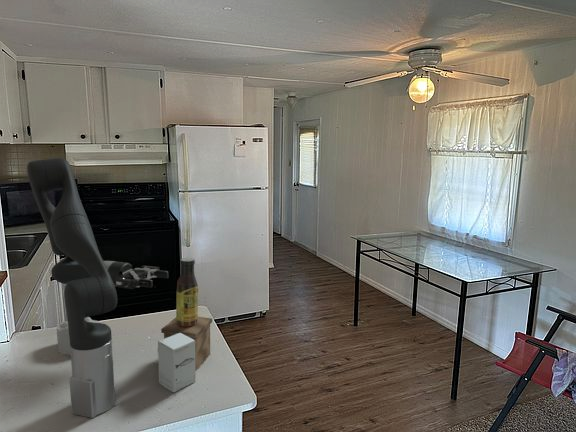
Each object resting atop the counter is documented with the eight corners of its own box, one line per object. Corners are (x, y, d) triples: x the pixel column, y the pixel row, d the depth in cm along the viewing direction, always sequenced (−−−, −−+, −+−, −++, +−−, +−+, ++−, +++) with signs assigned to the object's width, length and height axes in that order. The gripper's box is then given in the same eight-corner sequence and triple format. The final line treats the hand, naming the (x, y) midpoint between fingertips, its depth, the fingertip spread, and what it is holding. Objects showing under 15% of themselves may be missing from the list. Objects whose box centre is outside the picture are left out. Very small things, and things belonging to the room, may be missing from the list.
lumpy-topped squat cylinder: (83, 357, 126) (82, 331, 124) (48, 351, 129) (46, 325, 127) (106, 341, 136) (105, 317, 134) (73, 336, 139) (71, 312, 137)
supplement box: (173, 393, 109) (172, 349, 106) (158, 382, 113) (156, 340, 111) (196, 382, 114) (195, 340, 112) (180, 372, 119) (179, 331, 117)
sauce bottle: (185, 330, 119) (184, 264, 115) (172, 323, 123) (170, 259, 119) (202, 322, 124) (202, 259, 121) (189, 316, 128) (188, 255, 124)
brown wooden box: (196, 372, 119) (195, 334, 116) (162, 366, 121) (161, 329, 119) (212, 354, 129) (212, 318, 127) (181, 349, 132) (180, 314, 130)
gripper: (97, 268, 119) (146, 274, 115) (127, 255, 133) (172, 260, 129) (98, 293, 121) (147, 299, 117) (128, 278, 134) (173, 283, 130)
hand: (160, 279), depth 123 cm, fingers open, 8 cm apart
